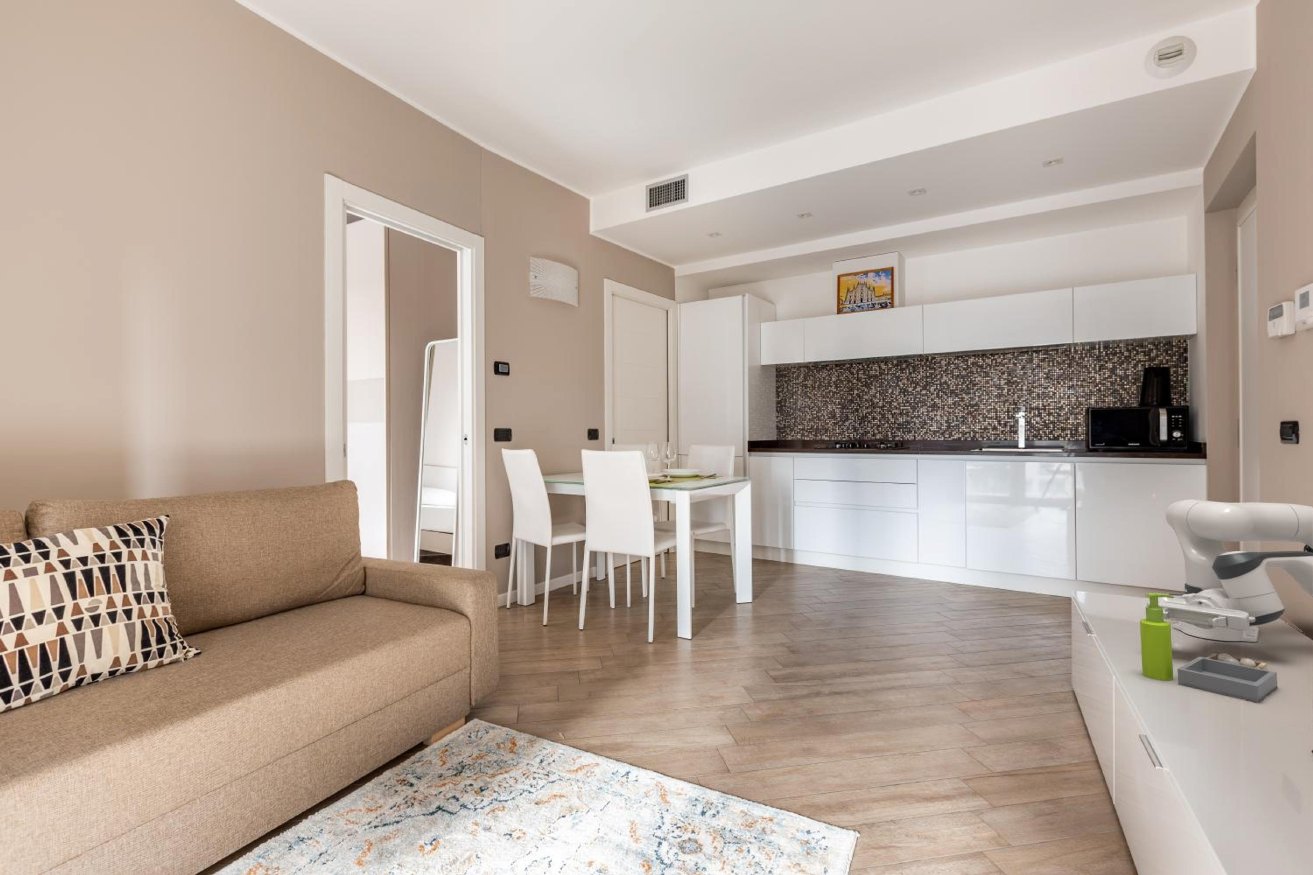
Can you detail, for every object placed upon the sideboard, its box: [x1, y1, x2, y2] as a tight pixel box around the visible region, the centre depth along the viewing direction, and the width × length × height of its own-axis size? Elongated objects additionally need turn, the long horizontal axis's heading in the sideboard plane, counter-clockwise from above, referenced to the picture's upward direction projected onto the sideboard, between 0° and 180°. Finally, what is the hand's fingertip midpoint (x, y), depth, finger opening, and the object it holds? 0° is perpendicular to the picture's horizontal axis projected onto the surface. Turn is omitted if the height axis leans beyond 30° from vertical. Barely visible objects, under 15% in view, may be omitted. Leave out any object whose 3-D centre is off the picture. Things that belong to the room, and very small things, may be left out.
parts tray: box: [1205, 652, 1268, 670], centre depth 155 cm, size 8×10×2 cm
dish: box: [1177, 656, 1278, 704], centre depth 146 cm, size 14×14×4 cm
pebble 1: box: [1217, 652, 1233, 661], centre depth 157 cm, size 3×3×3 cm
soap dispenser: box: [1139, 592, 1174, 681], centre depth 154 cm, size 6×7×20 cm
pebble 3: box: [1239, 657, 1256, 668], centre depth 154 cm, size 3×3×3 cm
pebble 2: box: [1224, 657, 1240, 665], centre depth 154 cm, size 3×3×3 cm
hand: (1186, 619), depth 158 cm, fingers open, 8 cm apart
